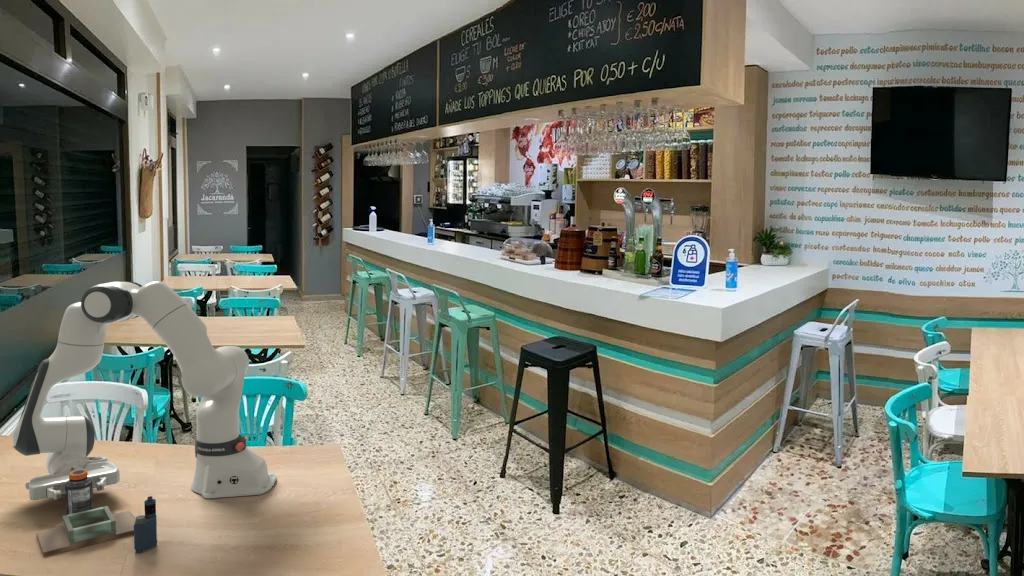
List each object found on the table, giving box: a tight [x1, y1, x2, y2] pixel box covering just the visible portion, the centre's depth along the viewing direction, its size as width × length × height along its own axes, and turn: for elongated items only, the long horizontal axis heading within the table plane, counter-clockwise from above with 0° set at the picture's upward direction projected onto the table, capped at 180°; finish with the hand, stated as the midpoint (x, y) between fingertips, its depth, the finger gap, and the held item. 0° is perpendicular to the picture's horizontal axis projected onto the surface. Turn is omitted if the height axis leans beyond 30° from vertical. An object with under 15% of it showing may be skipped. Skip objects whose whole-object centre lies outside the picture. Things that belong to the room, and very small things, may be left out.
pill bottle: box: [64, 469, 95, 515], centre depth 178 cm, size 6×6×11 cm
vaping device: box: [133, 495, 158, 554], centre depth 162 cm, size 3×5×12 cm, turn 155°
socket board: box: [36, 505, 136, 557], centre depth 168 cm, size 20×12×4 cm, turn 130°
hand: (79, 491), depth 178 cm, fingers open, 8 cm apart
